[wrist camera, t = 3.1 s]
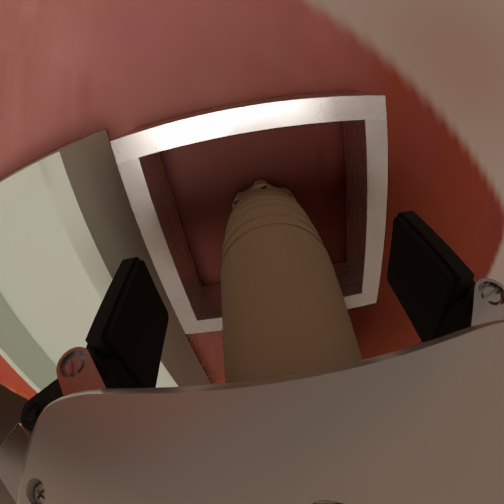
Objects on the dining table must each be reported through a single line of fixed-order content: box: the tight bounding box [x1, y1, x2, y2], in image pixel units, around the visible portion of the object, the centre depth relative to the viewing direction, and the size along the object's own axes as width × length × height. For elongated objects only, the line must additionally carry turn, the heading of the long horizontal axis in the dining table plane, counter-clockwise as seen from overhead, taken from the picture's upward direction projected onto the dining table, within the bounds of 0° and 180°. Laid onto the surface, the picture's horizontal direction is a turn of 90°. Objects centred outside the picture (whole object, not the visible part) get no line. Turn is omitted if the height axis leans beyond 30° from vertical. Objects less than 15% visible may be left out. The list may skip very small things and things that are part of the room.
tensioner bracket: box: [110, 91, 388, 334], centre depth 14 cm, size 21×11×8 cm, turn 10°
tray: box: [0, 129, 212, 393], centre depth 17 cm, size 22×16×4 cm
